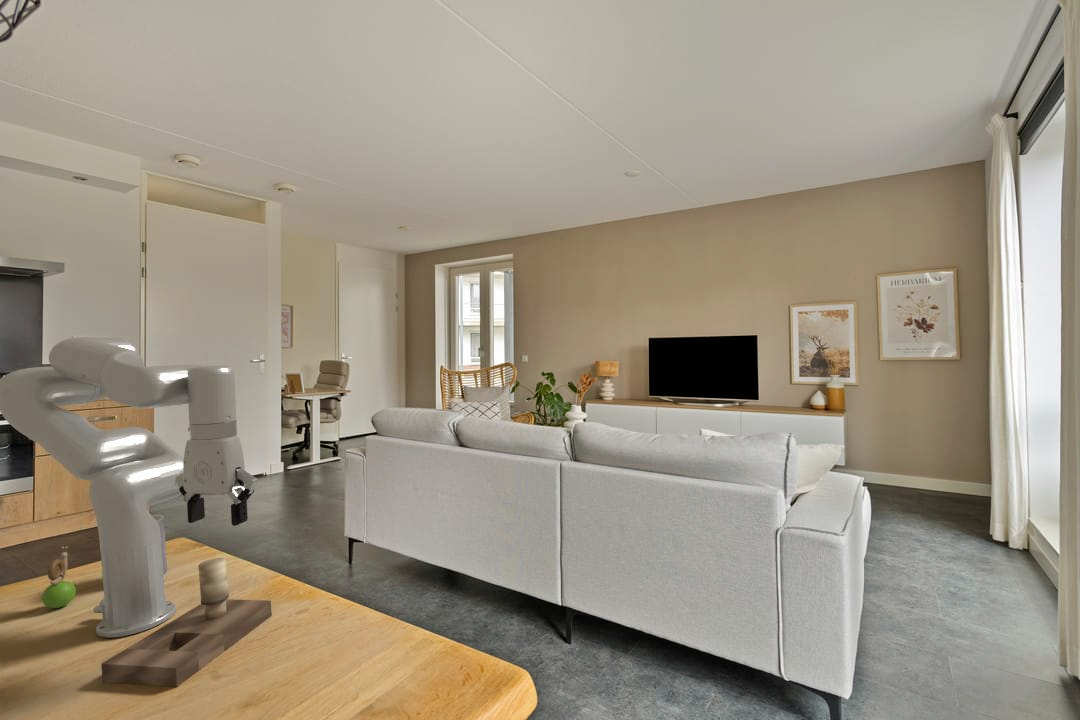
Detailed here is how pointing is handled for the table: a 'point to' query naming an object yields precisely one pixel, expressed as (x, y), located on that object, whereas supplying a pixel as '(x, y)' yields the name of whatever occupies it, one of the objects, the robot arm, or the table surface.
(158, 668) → the walnut board
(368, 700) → the table surface
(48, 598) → the snail figurine
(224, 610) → the beech leg
